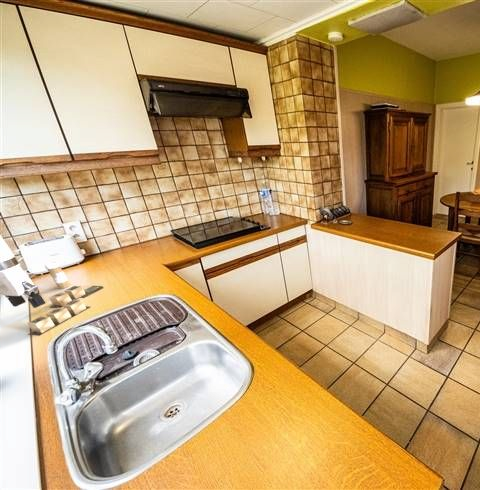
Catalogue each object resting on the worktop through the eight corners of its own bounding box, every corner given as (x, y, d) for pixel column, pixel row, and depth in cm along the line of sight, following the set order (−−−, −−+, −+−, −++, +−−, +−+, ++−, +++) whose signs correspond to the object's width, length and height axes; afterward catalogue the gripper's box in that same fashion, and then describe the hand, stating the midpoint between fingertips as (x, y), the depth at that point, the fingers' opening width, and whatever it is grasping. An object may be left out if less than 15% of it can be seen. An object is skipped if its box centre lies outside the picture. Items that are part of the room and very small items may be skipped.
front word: (40, 337, 101) (32, 326, 99) (28, 336, 102) (20, 325, 100) (92, 308, 117) (86, 298, 115) (81, 307, 118) (75, 297, 116)
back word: (60, 310, 117) (54, 299, 115) (49, 309, 118) (43, 299, 116) (103, 287, 133) (98, 278, 131) (94, 287, 134) (88, 278, 132)
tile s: (41, 333, 102) (35, 323, 100) (33, 332, 102) (26, 323, 101) (55, 325, 106) (49, 316, 104) (47, 324, 106) (40, 316, 104)
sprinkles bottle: (56, 288, 135) (42, 265, 130) (68, 283, 139) (54, 261, 133) (61, 289, 133) (47, 266, 128) (73, 285, 137) (59, 262, 132)
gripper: (-33, 269, 91) (-2, 310, 98) (5, 271, 88) (34, 312, 95) (-2, 259, 98) (25, 298, 105) (34, 260, 95) (59, 300, 102)
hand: (29, 305), depth 100 cm, fingers open, 9 cm apart
